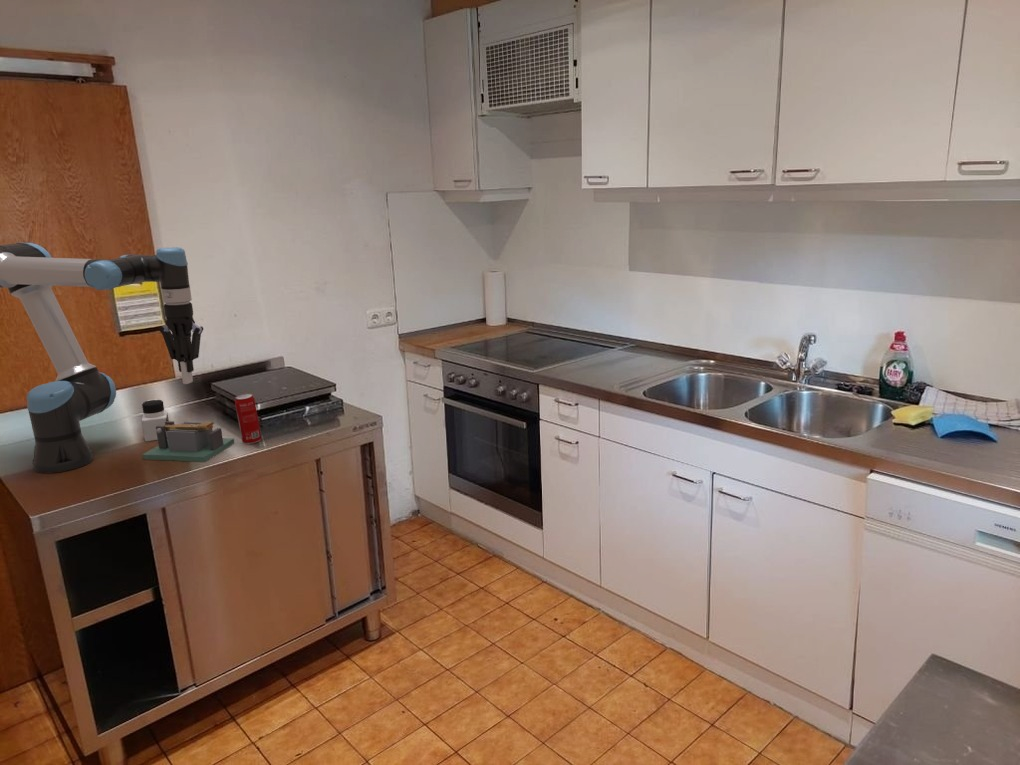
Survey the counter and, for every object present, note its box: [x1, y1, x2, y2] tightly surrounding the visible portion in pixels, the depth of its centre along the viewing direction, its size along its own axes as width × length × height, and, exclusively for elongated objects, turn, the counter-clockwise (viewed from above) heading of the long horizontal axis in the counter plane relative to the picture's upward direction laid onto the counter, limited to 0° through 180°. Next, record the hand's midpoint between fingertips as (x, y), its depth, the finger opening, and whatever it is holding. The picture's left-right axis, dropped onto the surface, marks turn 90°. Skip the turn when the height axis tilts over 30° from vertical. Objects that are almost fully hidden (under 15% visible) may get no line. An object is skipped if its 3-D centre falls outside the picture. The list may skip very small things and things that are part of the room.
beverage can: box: [234, 393, 262, 445], centre depth 229 cm, size 6×6×15 cm
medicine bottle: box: [141, 398, 170, 442], centre depth 237 cm, size 7×7×12 cm
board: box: [142, 420, 235, 463], centre depth 223 cm, size 20×16×8 cm
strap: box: [164, 421, 215, 430], centre depth 222 cm, size 16×4×2 cm, turn 79°
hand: (188, 382), depth 218 cm, fingers closed
